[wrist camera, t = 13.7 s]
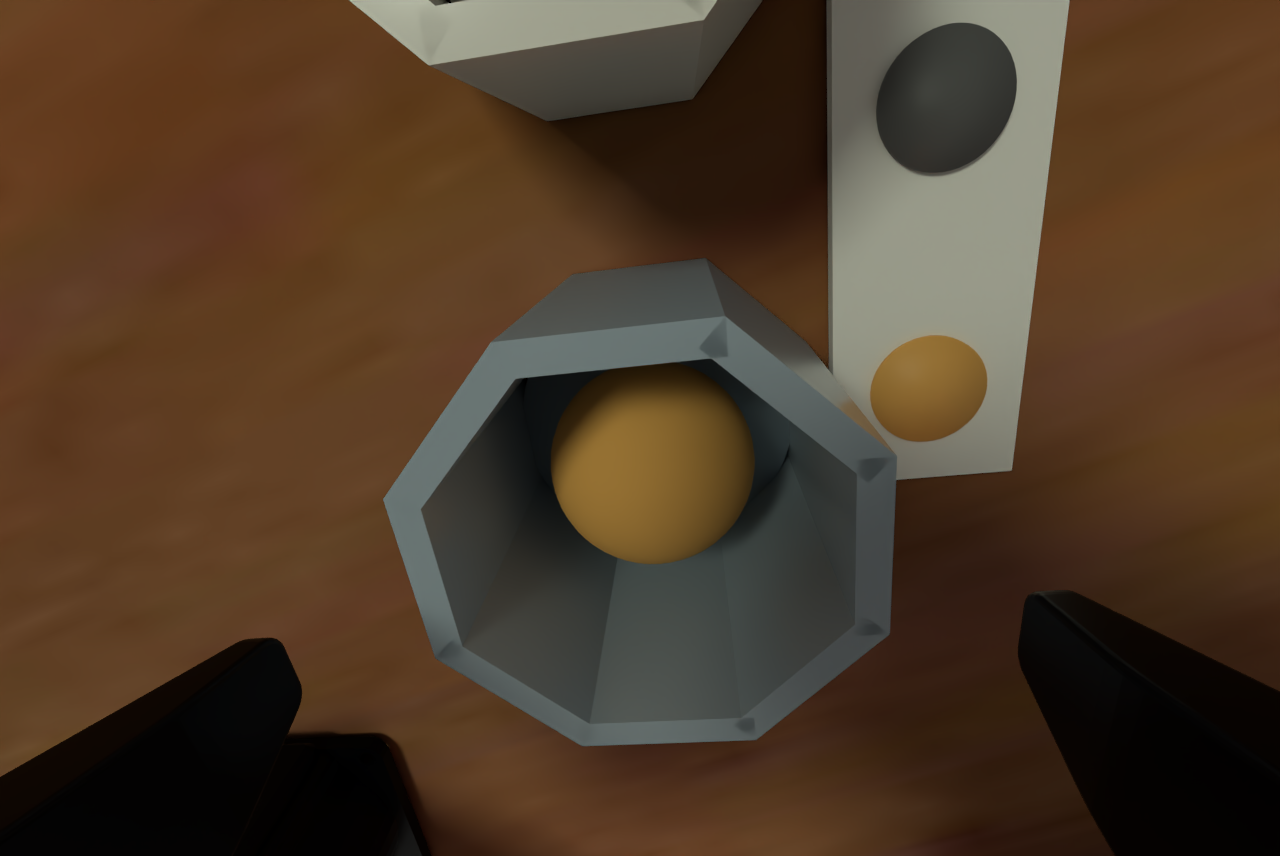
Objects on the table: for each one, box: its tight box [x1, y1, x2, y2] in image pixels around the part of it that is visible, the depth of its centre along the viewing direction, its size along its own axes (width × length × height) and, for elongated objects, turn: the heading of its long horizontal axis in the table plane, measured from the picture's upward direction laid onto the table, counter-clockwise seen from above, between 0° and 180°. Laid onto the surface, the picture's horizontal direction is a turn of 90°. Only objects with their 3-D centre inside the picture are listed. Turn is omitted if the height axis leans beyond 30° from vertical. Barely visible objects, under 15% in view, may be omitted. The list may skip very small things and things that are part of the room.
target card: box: [826, 0, 1069, 480], centre depth 12 cm, size 10×4×1 cm, turn 7°
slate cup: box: [383, 258, 897, 746], centre depth 11 cm, size 7×7×6 cm
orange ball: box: [551, 362, 755, 564], centre depth 12 cm, size 4×4×4 cm
